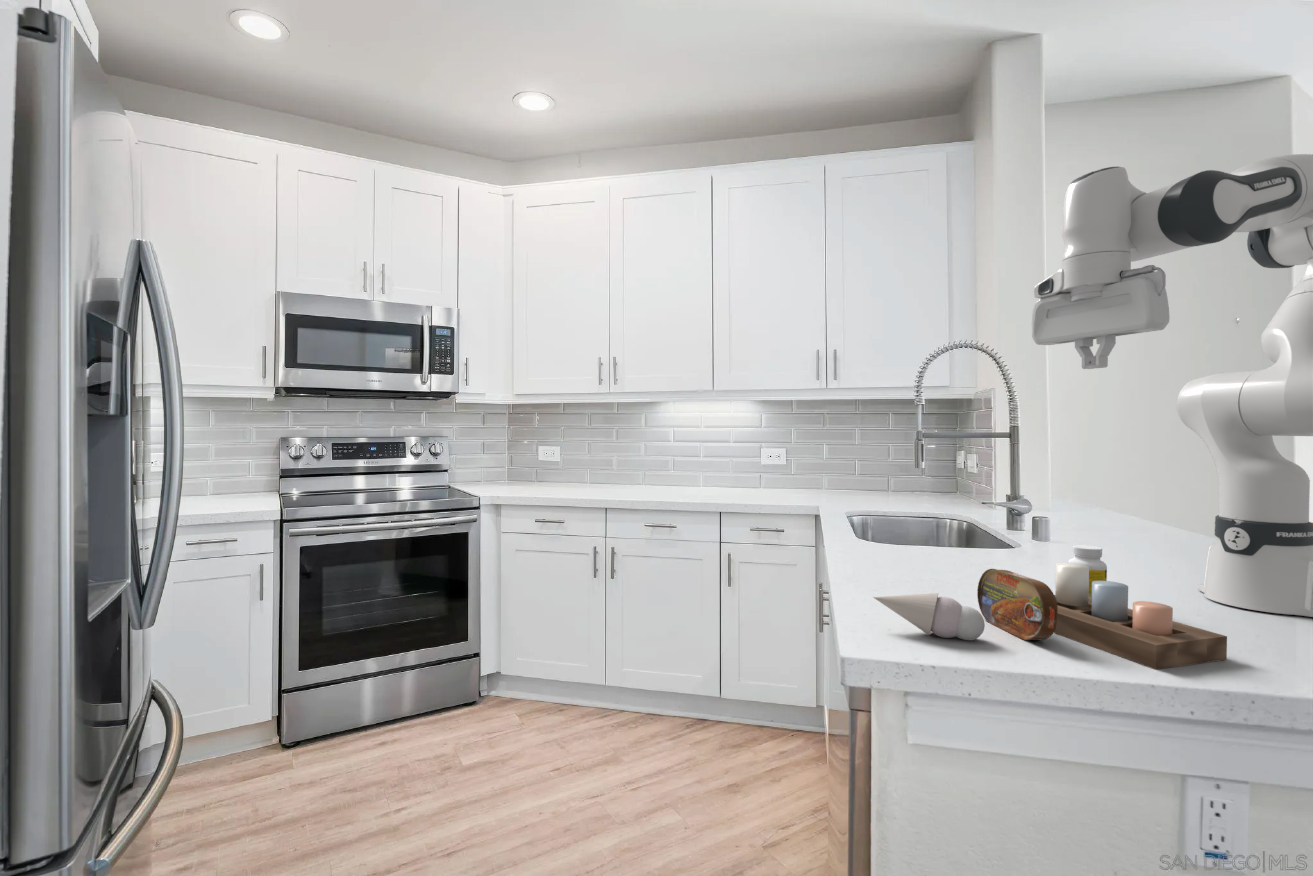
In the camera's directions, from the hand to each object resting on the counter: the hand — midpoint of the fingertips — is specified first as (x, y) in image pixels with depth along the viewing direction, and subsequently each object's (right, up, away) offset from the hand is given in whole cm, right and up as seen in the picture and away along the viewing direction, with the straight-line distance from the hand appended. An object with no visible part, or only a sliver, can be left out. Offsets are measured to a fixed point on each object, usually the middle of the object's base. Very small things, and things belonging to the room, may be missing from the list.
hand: (1094, 368), depth 100 cm
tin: (-15, -39, -5) cm, 42 cm away
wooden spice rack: (-3, -39, -8) cm, 40 cm away
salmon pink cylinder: (-2, -38, -14) cm, 41 cm away
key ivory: (-5, -35, -2) cm, 36 cm away
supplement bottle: (+4, -39, +7) cm, 39 cm away
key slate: (-3, -37, -8) cm, 38 cm away
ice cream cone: (-29, -39, -7) cm, 49 cm away
